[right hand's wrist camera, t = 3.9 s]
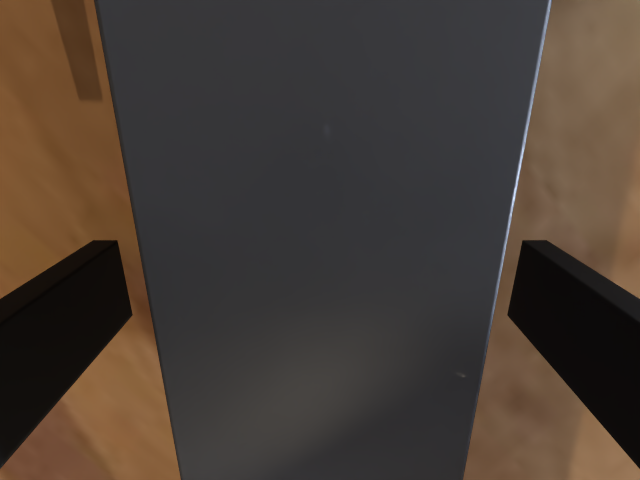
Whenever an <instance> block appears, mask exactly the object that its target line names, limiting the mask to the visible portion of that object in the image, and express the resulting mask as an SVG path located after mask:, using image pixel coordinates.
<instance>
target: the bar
mask: <svg viewBox="0 0 640 480" xmlns="http://www.w3.org/2000/svg"><path fill="white" fill-rule="evenodd" d="M94 2H95V8H96V13H97V19H98V24H99V30H100V35H101V41H102V46H103V52H104V57H105V63H106V68H107V74H108V79H109V85H110V90H111V96H112V102H113V107H114V113H115V118H116V124H117V129H118V135H119V140H120V146H121V151H122V157H123V162H124V168H125V173H126V179H127V184H128V190H129V195H130V201H131V206H132V212H133V217H134V223H135V228H136V234H137V240H138V245H139V251H140V256H141V262H142V267H143V273H144V278H145V284H146V289H147V295H148V300H149V306H150V311H151V317H152V322H153V328H154V333H155V339H156V344H157V350H158V355H159V361H160V366H161V372H162V377H163V383H164V389H165V394H166V400H167V405H168V411H169V416H170V422H171V427H172V433H173V438H174V444H175V449H176V455H177V460H178V466H179V471H180V477H181V480H463V476H464V470H465V465H466V460H467V454H468V449H469V444H470V438H471V433H472V427H473V422H474V417H475V411H476V406H477V401H478V395H479V390H480V384H481V379H482V374H483V368H484V363H485V358H486V352H487V347H488V341H489V336H490V331H491V325H492V320H493V315H494V309H495V304H496V298H497V293H498V288H499V282H500V277H501V272H502V266H503V261H504V255H505V250H506V245H507V239H508V234H509V229H510V223H511V218H512V212H513V207H514V202H515V196H516V191H517V186H518V180H519V175H520V169H521V164H522V159H523V153H524V148H525V143H526V137H527V132H528V126H529V121H530V116H531V110H532V105H533V100H534V94H535V89H536V83H537V78H538V73H539V67H540V62H541V57H542V51H543V46H544V40H545V35H546V30H547V24H548V19H549V14H550V8H551V3H552V0H94Z"/></svg>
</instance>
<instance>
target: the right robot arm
mask: <svg viewBox="0 0 640 480" xmlns="http://www.w3.org/2000/svg"><path fill="white" fill-rule="evenodd" d="M131 316H132V310H131V305H130V300H129V295H128V290H127V285H126V280H125V276H124V271H123V266H122V261H121V256H120V251H119V246H118V241H117V240H93V241H92V242H90V243H88V244H87V245H85V246H84V247H82V248H80V249H79V250H77V251H76V252H74V253H73V254H71V255H69V256H68V257H66V258H65V259H63V260H61V261H60V262H58V263H57V264H55V265H54V266H52V267H50V268H49V269H47V270H46V271H44V272H42V273H41V274H39V275H38V276H36V277H35V278H33V279H31V280H30V281H28V282H27V283H25V284H23V285H22V286H20V287H19V288H17V289H16V290H14V291H12V292H11V293H9V294H8V295H6V296H4V297H3V298H1V299H0V468H1V467H2V466H3V465H4V464H5V463H6V461H7V460H8V459H9V458H10V457H11V456H12V455H13V453H14V452H15V451H16V450H17V449H18V448H19V446H20V445H21V444H22V443H23V442H24V441H25V439H26V438H27V437H28V436H29V435H30V434H31V432H32V431H33V430H34V429H35V428H36V427H37V425H38V424H39V423H40V422H41V421H42V420H43V419H44V417H45V416H46V415H47V414H48V413H49V412H50V410H51V409H52V408H53V407H54V406H55V405H56V403H57V402H58V401H59V400H60V399H61V398H62V396H63V395H64V394H65V393H66V392H67V391H68V389H69V388H70V387H71V386H72V385H73V384H74V383H75V381H76V380H77V379H78V378H79V377H80V376H81V374H82V373H83V372H84V371H85V370H86V369H87V367H88V366H89V365H90V364H91V363H92V362H93V360H94V359H95V358H96V357H97V356H98V355H99V353H100V352H101V351H102V350H103V349H104V348H105V347H106V345H107V344H108V343H109V342H110V341H111V340H112V338H113V337H114V336H115V335H116V334H117V333H118V331H119V330H120V329H121V328H122V327H123V326H124V324H125V323H126V322H127V321H128V320H129V319H130V317H131ZM508 316H509V318H510V319H511V320H512V321H513V322H514V323H515V324H516V326H517V327H518V328H519V329H520V330H521V331H522V333H523V334H524V335H525V336H526V337H527V338H528V340H529V341H530V342H531V343H532V344H533V345H534V347H535V348H536V349H537V350H538V351H539V352H540V354H541V355H542V356H543V357H544V358H545V359H546V360H547V362H548V363H549V364H550V365H551V366H552V367H553V369H554V370H555V371H556V372H557V373H558V374H559V376H560V377H561V378H562V379H563V380H564V381H565V383H566V384H567V385H568V386H569V387H570V388H571V390H572V391H573V392H574V393H575V394H576V395H577V396H578V398H579V399H580V400H581V401H582V402H583V403H584V405H585V406H586V407H587V408H588V409H589V410H590V412H591V413H592V414H593V415H594V416H595V417H596V419H597V420H598V421H599V422H600V423H601V424H602V426H603V427H604V428H605V429H606V430H607V431H608V432H609V434H610V435H611V436H612V437H613V438H614V439H615V441H616V442H617V443H618V444H619V445H620V446H621V448H622V449H623V450H624V451H625V452H626V453H627V455H628V456H629V457H630V458H631V459H632V460H633V462H634V463H635V464H636V465H637V466H638V467H639V468H640V299H639V298H637V297H636V296H634V295H632V294H631V293H629V292H628V291H626V290H624V289H623V288H621V287H620V286H618V285H617V284H615V283H613V282H612V281H610V280H609V279H607V278H605V277H604V276H602V275H601V274H599V273H598V272H596V271H594V270H593V269H591V268H590V267H588V266H586V265H585V264H583V263H582V262H580V261H579V260H577V259H575V258H574V257H572V256H571V255H569V254H567V253H566V252H564V251H563V250H561V249H559V248H558V247H556V246H555V245H553V244H552V243H550V242H548V241H547V240H523V241H522V246H521V251H520V256H519V261H518V266H517V271H516V275H515V280H514V285H513V290H512V295H511V300H510V305H509V310H508Z"/></svg>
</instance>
